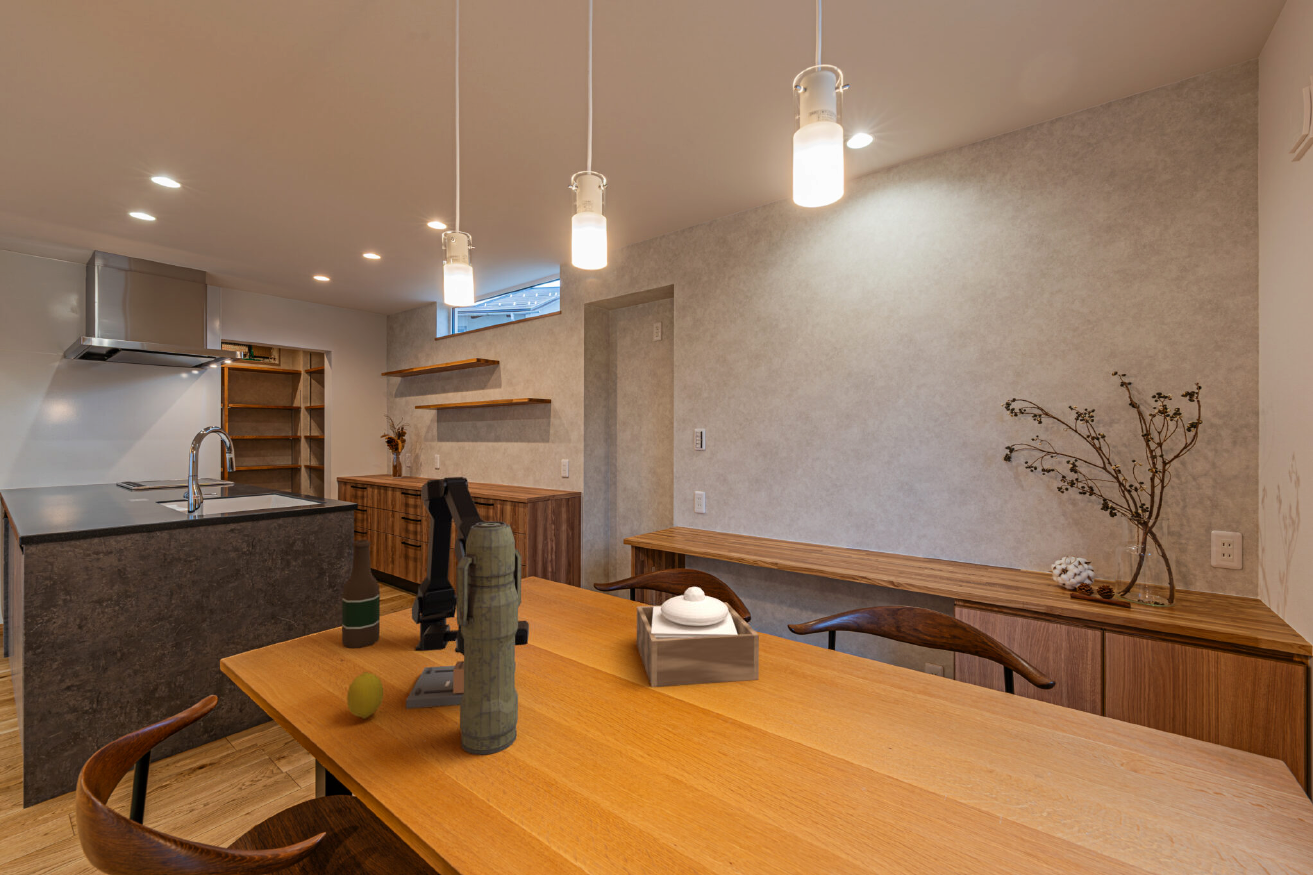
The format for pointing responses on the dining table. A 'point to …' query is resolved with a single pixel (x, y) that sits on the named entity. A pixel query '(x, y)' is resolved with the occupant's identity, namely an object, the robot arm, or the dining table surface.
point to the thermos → (489, 637)
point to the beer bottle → (360, 601)
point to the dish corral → (697, 654)
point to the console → (434, 688)
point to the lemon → (365, 695)
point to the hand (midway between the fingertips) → (477, 680)
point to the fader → (458, 677)
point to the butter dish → (692, 617)
